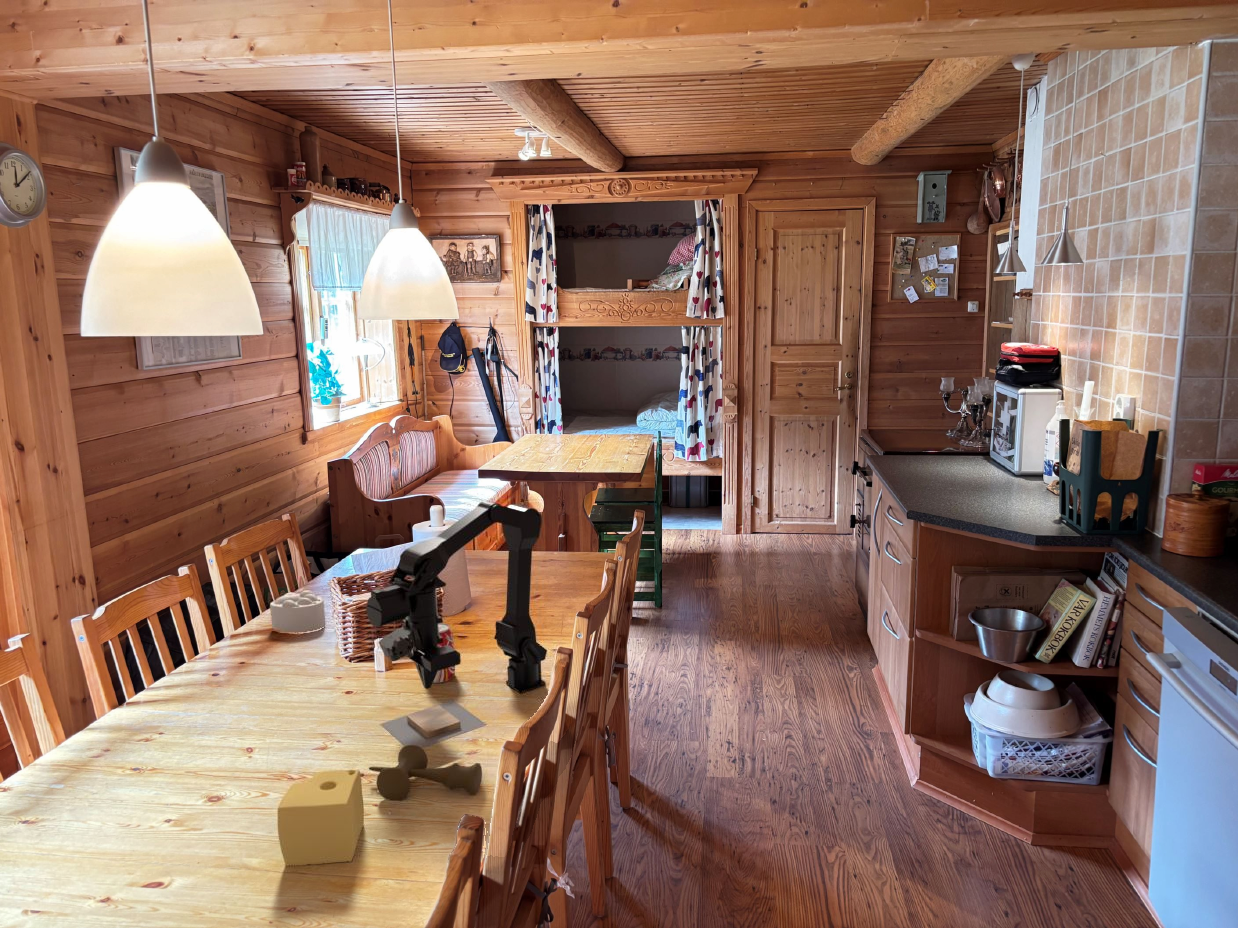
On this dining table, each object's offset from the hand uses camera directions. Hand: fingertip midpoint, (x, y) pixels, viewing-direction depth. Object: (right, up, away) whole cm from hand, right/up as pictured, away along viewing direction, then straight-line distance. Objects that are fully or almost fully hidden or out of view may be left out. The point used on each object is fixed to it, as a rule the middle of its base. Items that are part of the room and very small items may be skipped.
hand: (427, 687), depth 170 cm
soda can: (-2, -4, +22) cm, 22 cm away
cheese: (-8, -15, -36) cm, 40 cm away
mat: (+1, -8, 0) cm, 8 cm away
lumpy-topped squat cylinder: (-45, +2, +54) cm, 70 cm away
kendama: (+4, -12, -21) cm, 25 cm away
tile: (-2, -6, +3) cm, 7 cm away
